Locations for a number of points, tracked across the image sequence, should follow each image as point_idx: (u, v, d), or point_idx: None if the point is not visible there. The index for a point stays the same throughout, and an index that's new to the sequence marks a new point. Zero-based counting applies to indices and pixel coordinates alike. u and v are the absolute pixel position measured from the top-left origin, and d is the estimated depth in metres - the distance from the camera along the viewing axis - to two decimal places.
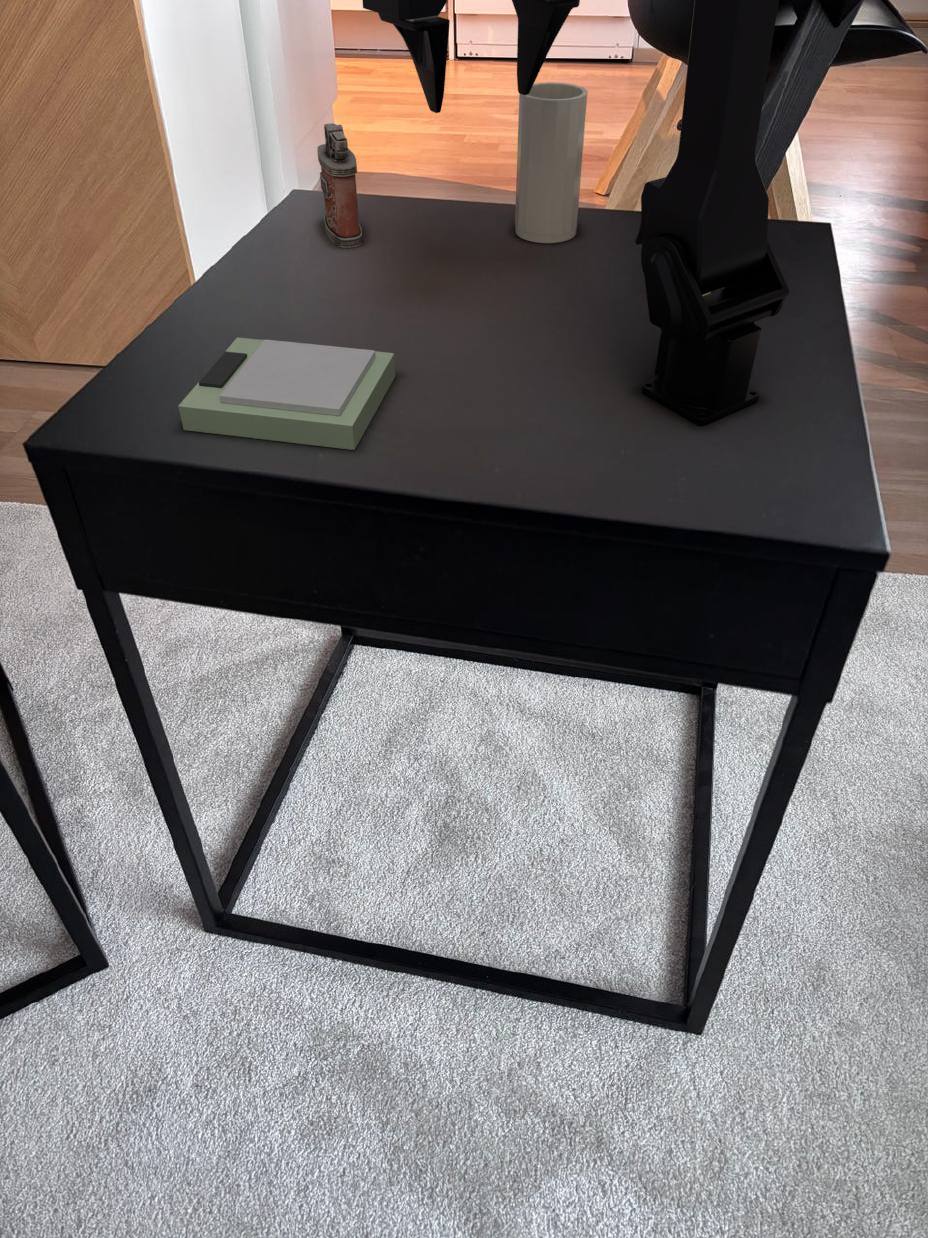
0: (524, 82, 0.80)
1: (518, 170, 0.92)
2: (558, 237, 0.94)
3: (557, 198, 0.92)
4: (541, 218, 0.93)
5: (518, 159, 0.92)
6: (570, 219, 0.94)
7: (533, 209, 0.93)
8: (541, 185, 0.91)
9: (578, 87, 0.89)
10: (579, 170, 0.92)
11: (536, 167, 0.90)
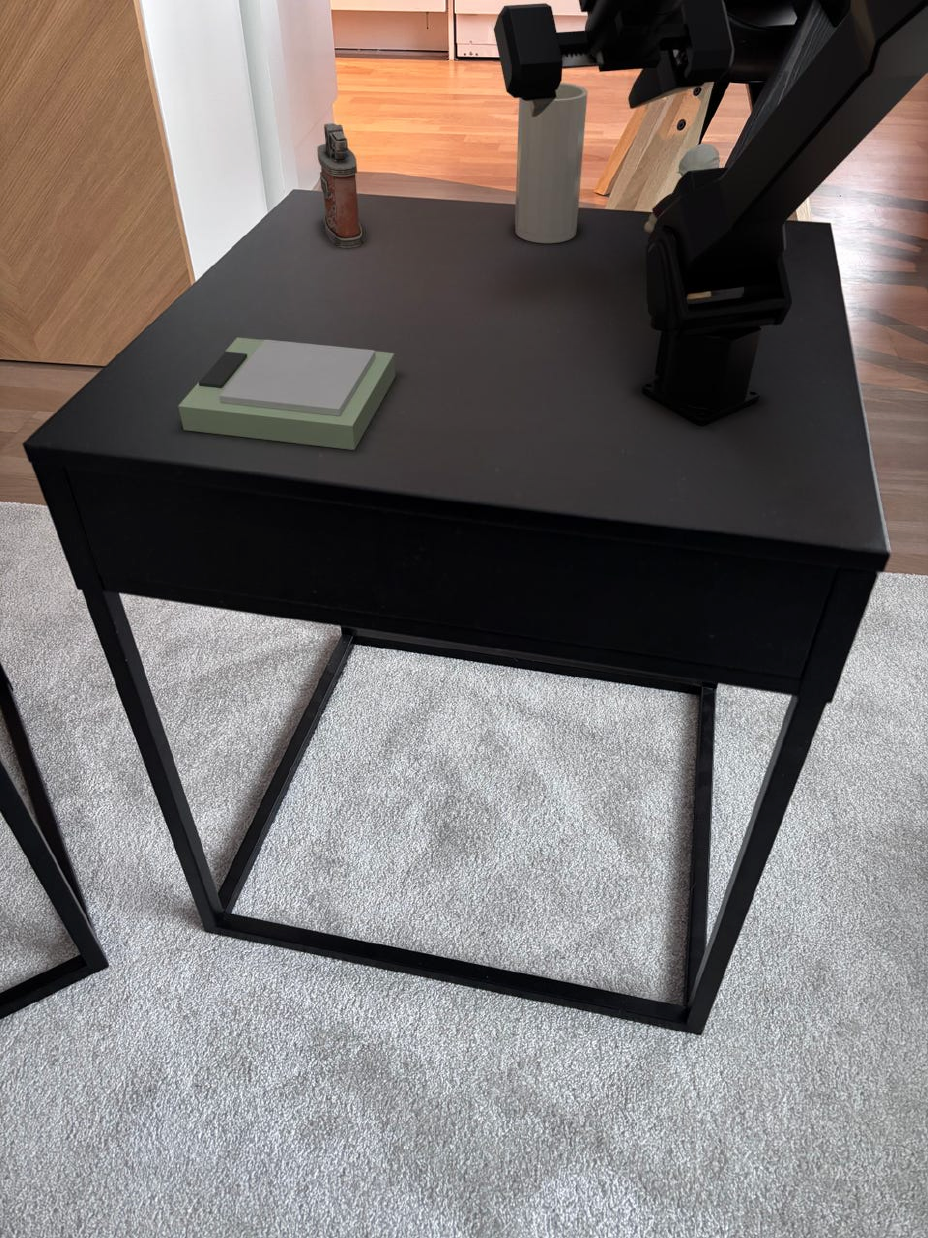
0: (633, 100, 0.82)
1: (518, 170, 0.92)
2: (558, 237, 0.94)
3: (557, 198, 0.92)
4: (541, 218, 0.93)
5: (518, 159, 0.92)
6: (570, 219, 0.94)
7: (533, 209, 0.93)
8: (541, 185, 0.91)
9: (578, 87, 0.89)
10: (579, 170, 0.92)
11: (536, 167, 0.90)
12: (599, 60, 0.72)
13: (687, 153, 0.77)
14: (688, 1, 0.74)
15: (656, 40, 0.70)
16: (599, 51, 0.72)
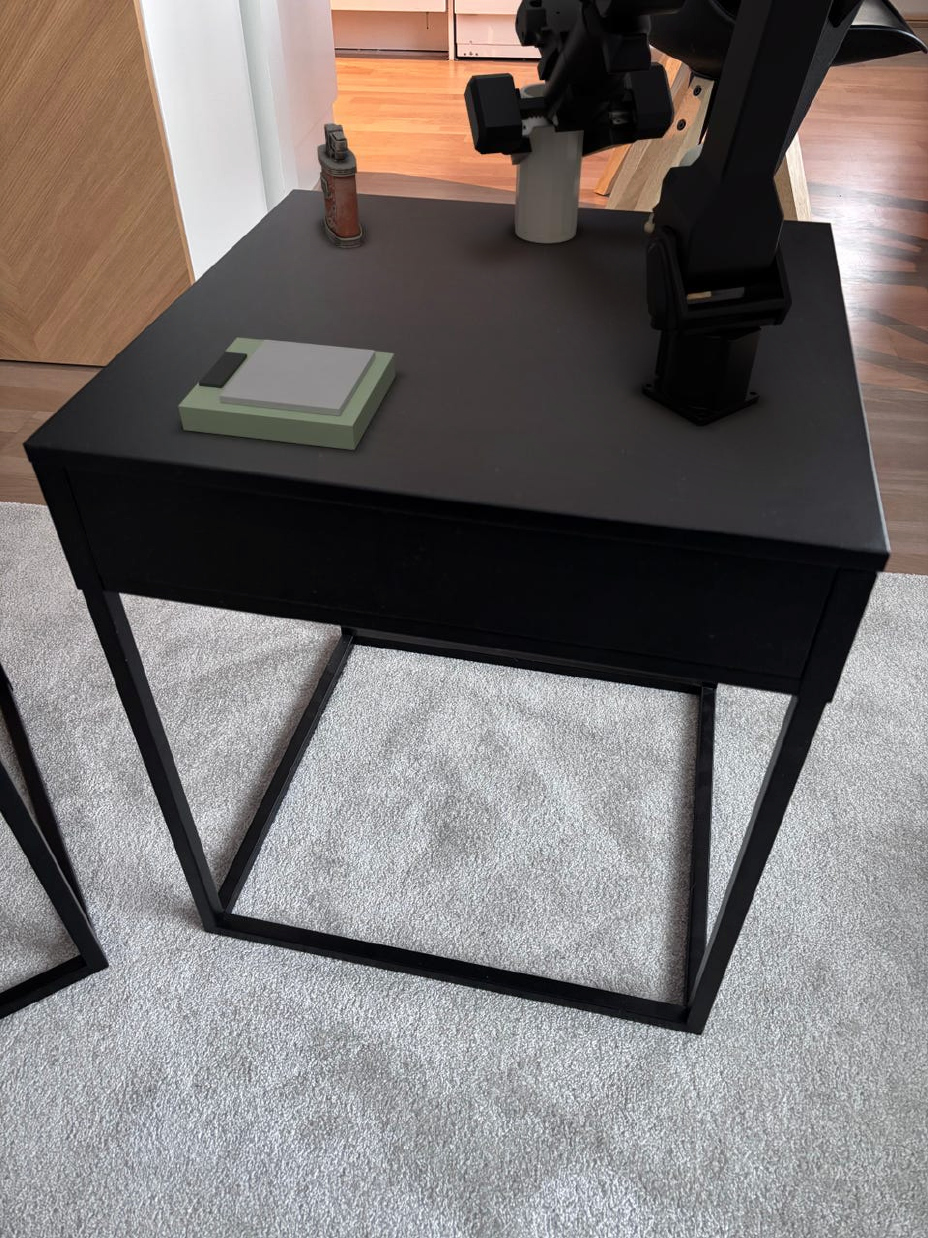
0: None
1: (518, 170, 0.92)
2: (558, 237, 0.94)
3: (557, 198, 0.92)
4: (540, 218, 0.93)
5: None
6: (570, 219, 0.94)
7: (532, 209, 0.93)
8: (541, 185, 0.91)
9: None
10: (579, 170, 0.92)
11: (536, 167, 0.90)
12: (555, 122, 0.83)
13: (687, 153, 0.77)
14: None
15: (603, 107, 0.81)
16: (554, 115, 0.83)
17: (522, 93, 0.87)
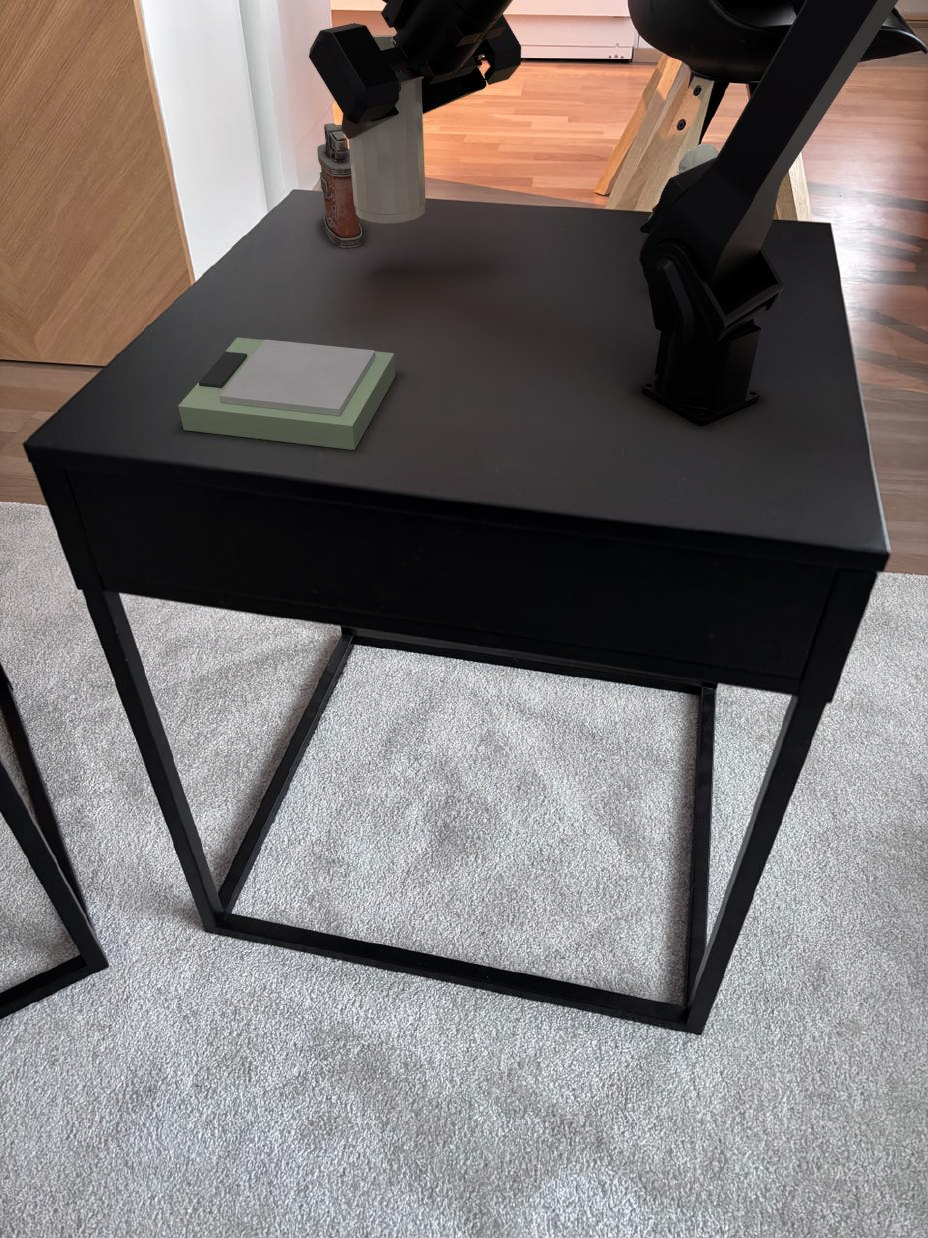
0: None
1: (358, 144, 0.78)
2: (417, 212, 0.82)
3: (412, 167, 0.79)
4: (398, 193, 0.80)
5: None
6: (424, 189, 0.82)
7: (387, 185, 0.80)
8: (394, 155, 0.78)
9: None
10: None
11: (386, 134, 0.77)
12: (426, 73, 0.71)
13: (687, 153, 0.77)
14: None
15: None
16: (424, 64, 0.71)
17: None
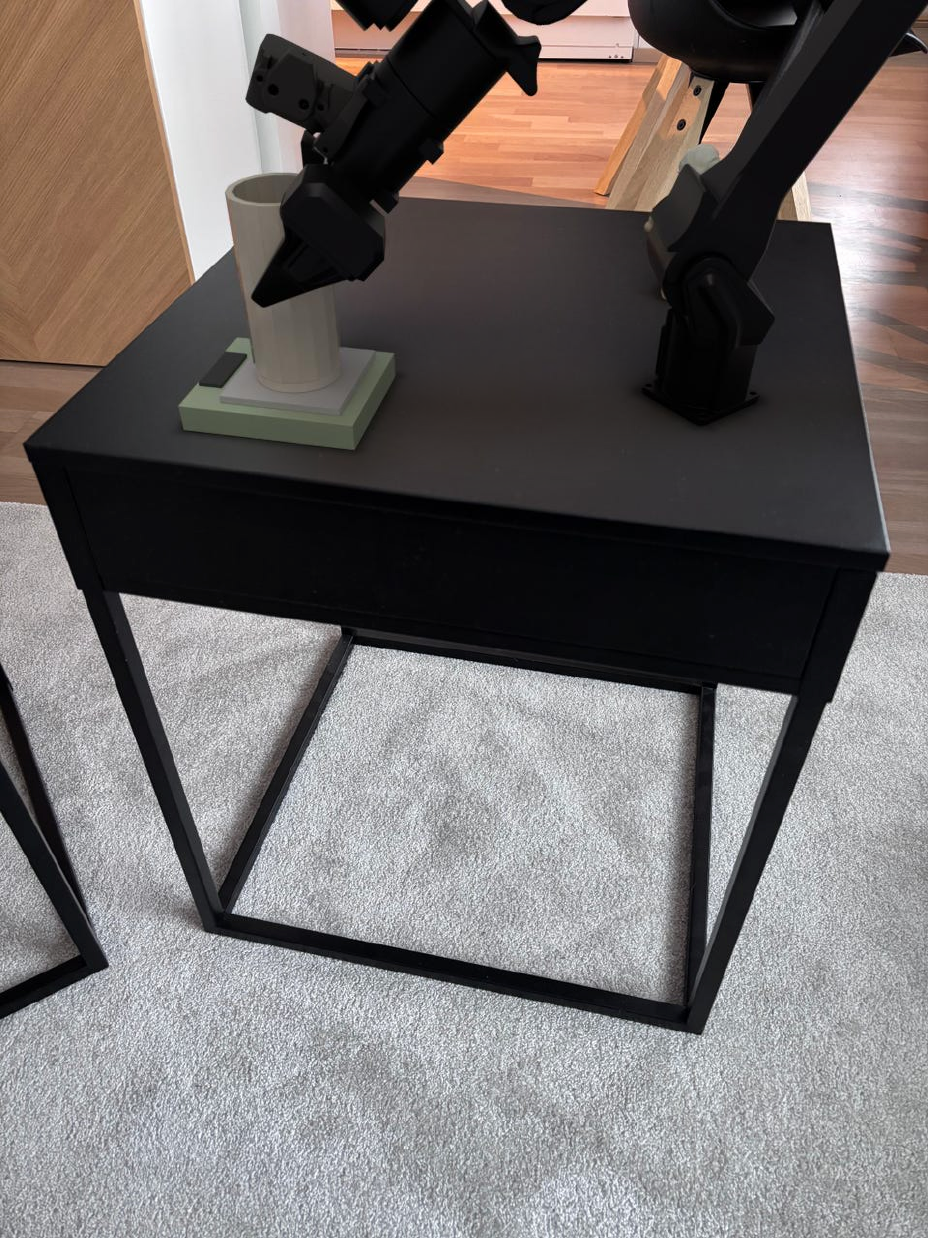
0: None
1: (282, 310, 0.63)
2: (341, 363, 0.69)
3: (336, 316, 0.67)
4: (331, 350, 0.67)
5: None
6: None
7: (322, 346, 0.66)
8: (326, 309, 0.65)
9: (270, 175, 0.63)
10: None
11: (318, 290, 0.63)
12: (384, 202, 0.59)
13: (687, 153, 0.77)
14: None
15: None
16: (381, 192, 0.59)
17: (270, 205, 0.59)
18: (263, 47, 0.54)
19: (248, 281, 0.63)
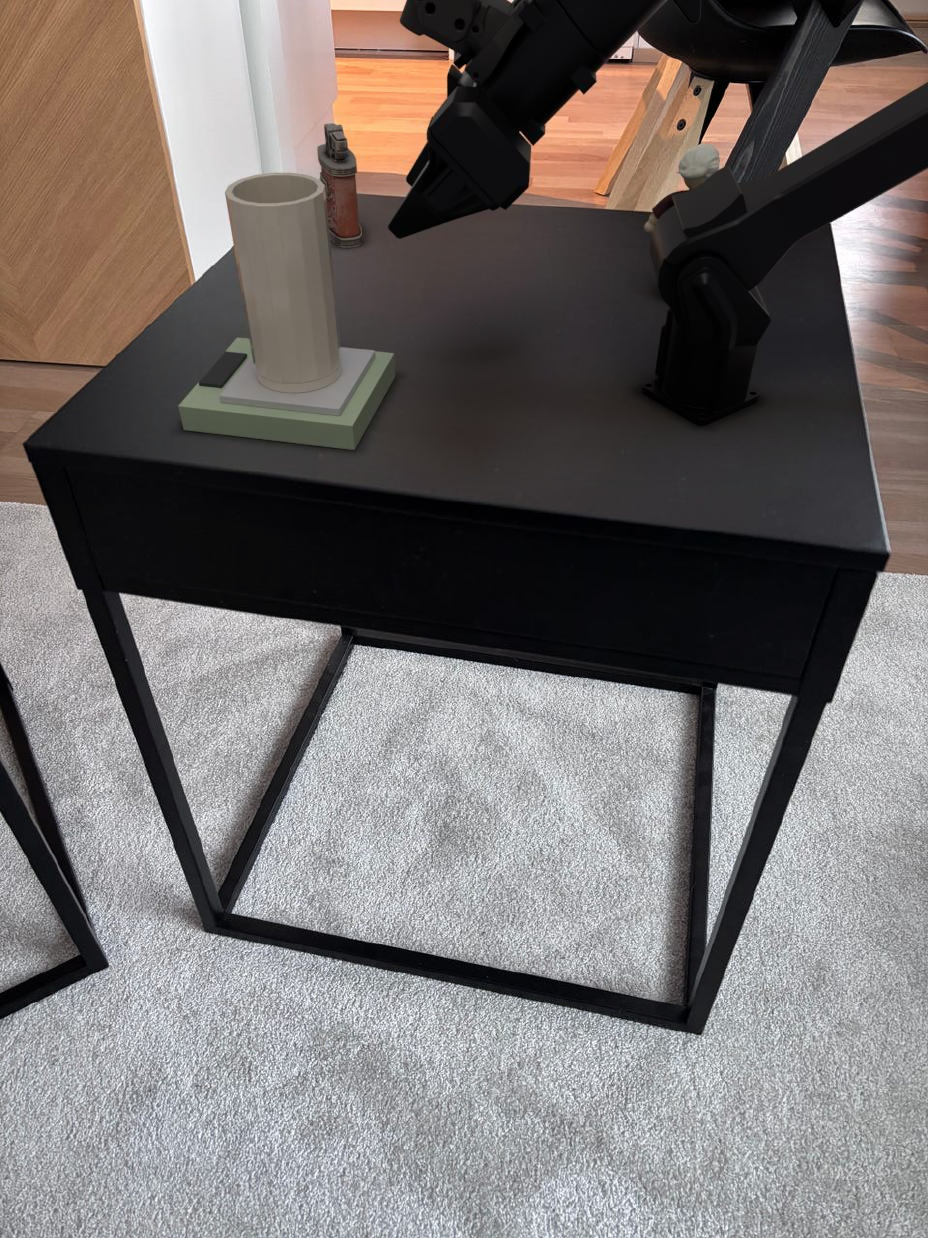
0: None
1: (282, 310, 0.63)
2: (341, 363, 0.69)
3: (336, 316, 0.67)
4: (331, 350, 0.67)
5: (276, 297, 0.62)
6: None
7: (322, 346, 0.66)
8: (326, 309, 0.65)
9: (270, 175, 0.63)
10: None
11: (318, 290, 0.63)
12: (531, 133, 0.58)
13: (687, 153, 0.77)
14: None
15: None
16: (528, 123, 0.58)
17: (270, 205, 0.59)
18: None
19: (248, 281, 0.63)
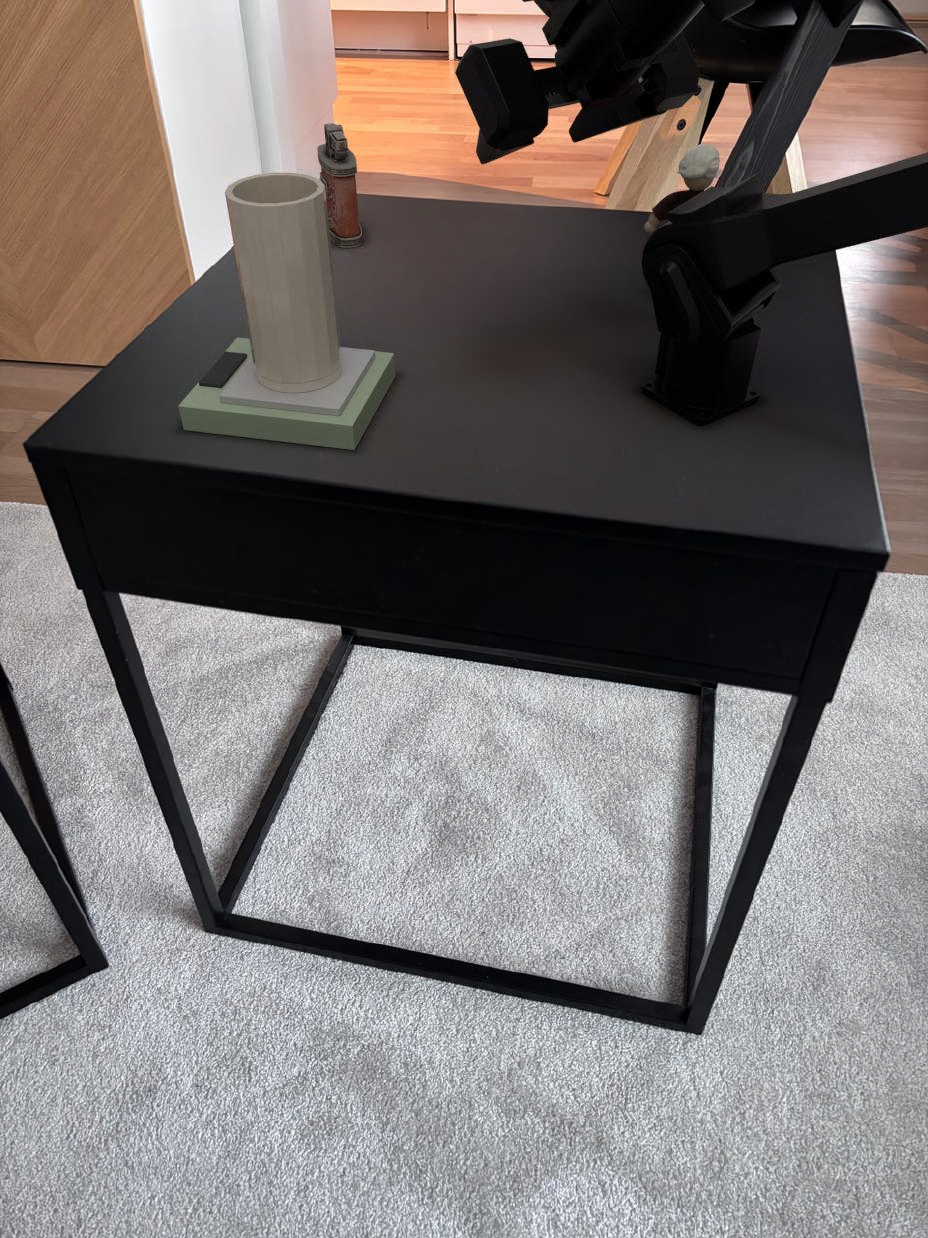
0: (578, 134, 0.75)
1: (282, 310, 0.63)
2: (341, 363, 0.69)
3: (336, 316, 0.67)
4: (331, 350, 0.67)
5: (276, 297, 0.62)
6: None
7: (322, 346, 0.66)
8: (326, 309, 0.65)
9: (270, 175, 0.63)
10: None
11: (318, 290, 0.63)
12: (582, 98, 0.64)
13: (687, 153, 0.77)
14: None
15: None
16: (581, 88, 0.63)
17: (270, 205, 0.59)
18: None
19: (248, 281, 0.63)
